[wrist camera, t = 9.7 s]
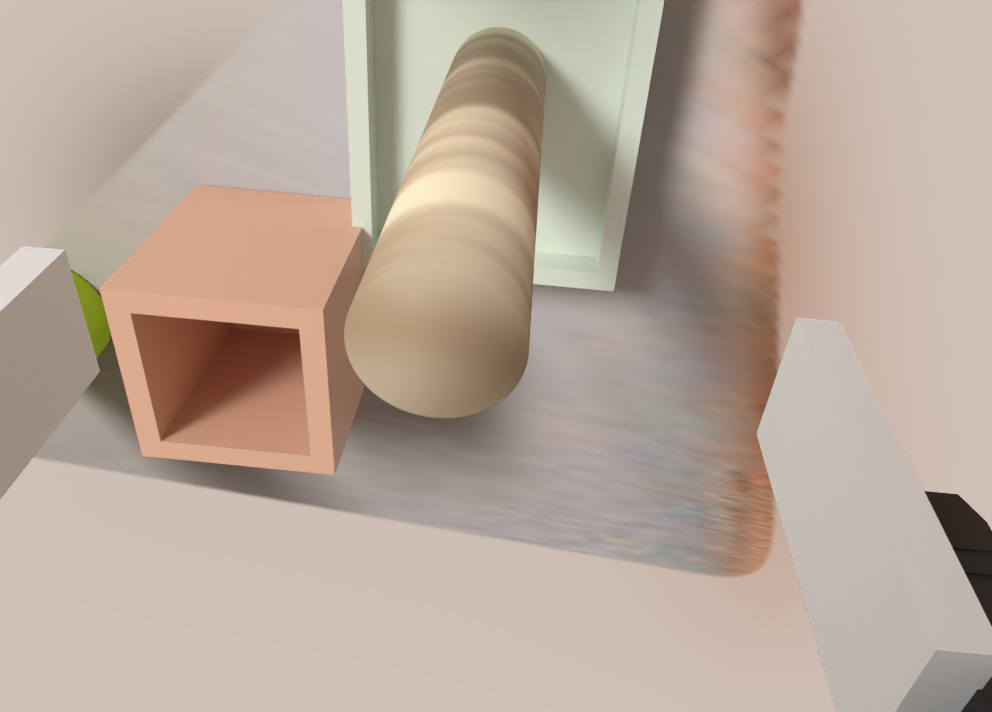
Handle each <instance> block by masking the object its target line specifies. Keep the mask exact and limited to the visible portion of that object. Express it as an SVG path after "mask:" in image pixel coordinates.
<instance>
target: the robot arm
mask: <svg viewBox="0 0 992 712" xmlns="http://www.w3.org/2000/svg"><path fill="white" fill-rule="evenodd" d="M99 372H100V369H99V366H98V362H97V359H96V355H95V352H94V348H93V345H92V341H91V338H90V335H89V331H88V328H87V324H86V321H85V317H84V314H83V311H82V307H81V304H80V300H79V297H78V293H77V290H76V286H75V283H74V280H73V276H72V273H71V269H70V266H69V262H68V259H67V255H66V252H65V250H60V249H49V248H38V247H28V246H23V247H21V248H20V249H19V250H18V251H17V252H16V253H15V254H13V255H12V256H11V257H10V258H9V259H8V260H7V261H5V262H4V263H3V264H2V265H1V266H0V499H1V498H2V496H3V495H4V494H5V493H6V491H7V490H8V488H9V487H10V486H11V485H12V484H13V482H14V481H15V480H16V479H17V477H18V476H19V475H20V473H21V472H22V471H23V469H24V468H25V467H26V466H27V464H28V463H29V462H30V461H31V459H32V458H33V457H34V455H35V454H36V453H37V452H38V450H39V449H40V448H41V446H42V445H43V444H44V443H45V441H46V440H47V439H48V438H49V436H50V435H51V434H52V432H53V431H54V430H55V429H56V427H57V426H58V425H59V423H60V422H61V421H62V420H63V418H64V417H65V416H66V414H67V413H68V412H69V411H70V409H71V408H72V407H73V405H74V404H75V403H76V402H77V400H78V399H79V398H80V396H81V395H82V394H83V393H84V391H85V390H86V389H87V388H88V386H89V385H90V384H91V382H92V381H93V380H94V379H95V377H96V376H97V375H98V373H99ZM757 438H758V441H759V445H760V448H761V452H762V455H763V459H764V462H765V466H766V469H767V473H768V476H769V479H770V483H771V486H772V490H773V493H774V497H775V500H776V504H777V507H778V511H779V514H780V518H781V521H782V524H783V528H784V532H785V535H786V539H787V542H788V546H789V549H790V553H791V556H792V560H793V563H794V567H795V570H796V574H797V577H798V581H799V584H800V588H801V591H802V595H803V598H804V602H805V605H806V609H807V612H808V616H809V619H810V623H811V626H812V630H813V633H814V637H815V640H816V644H817V647H818V651H819V654H820V658H821V661H822V665H823V668H824V672H825V675H826V679H827V682H828V686H829V689H830V693H831V696H832V699H833V703H834V707H835V710H836V712H992V531H991V529H990V527H989V525H988V524H987V522H986V521H985V520H984V519H983V518H982V517H981V516H980V515H979V514H978V513H977V512H976V511H974V510H973V509H972V508H971V507H970V506H969V505H968V504H967V503H966V502H965V501H964V500H963V499H962V498H961V497H960V496H959V495H957V494H948V493H937V492H927V491H924V490H923V488H922V486H921V483H920V481H919V479H918V477H917V475H916V474H915V471H914V469H913V468H912V465H911V463H910V461H909V459H908V457H907V455H906V453H905V451H904V449H903V447H902V445H901V443H900V441H899V439H898V437H897V435H896V433H895V431H894V430H893V427H892V425H891V423H890V421H889V419H888V417H887V415H886V413H885V411H884V409H883V407H882V405H881V403H880V401H879V399H878V397H877V395H876V393H875V391H874V389H873V387H872V385H871V383H870V381H869V379H868V377H867V375H866V373H865V371H864V369H863V367H862V365H861V363H860V361H859V359H858V357H857V355H856V353H855V351H854V349H853V347H852V345H851V343H850V341H849V339H848V337H847V335H846V333H845V330H844V329H843V327H842V325H841V322H840V321H830V320H819V319H809V318H808V319H807V318H796V320H795V323H794V326H793V329H792V332H791V335H790V338H789V340H788V343H787V346H786V349H785V352H784V355H783V358H782V361H781V364H780V367H779V370H778V372H777V375H776V378H775V381H774V384H773V387H772V390H771V393H770V396H769V399H768V402H767V404H766V407H765V410H764V413H763V416H762V419H761V422H760V425H759V428H758V431H757Z"/></svg>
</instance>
